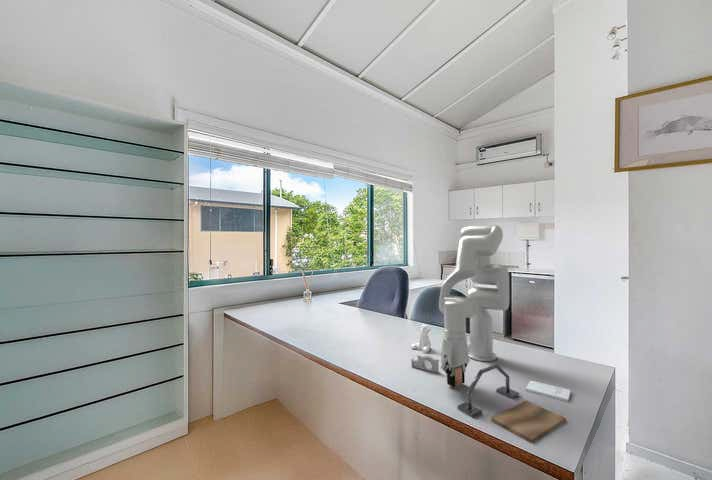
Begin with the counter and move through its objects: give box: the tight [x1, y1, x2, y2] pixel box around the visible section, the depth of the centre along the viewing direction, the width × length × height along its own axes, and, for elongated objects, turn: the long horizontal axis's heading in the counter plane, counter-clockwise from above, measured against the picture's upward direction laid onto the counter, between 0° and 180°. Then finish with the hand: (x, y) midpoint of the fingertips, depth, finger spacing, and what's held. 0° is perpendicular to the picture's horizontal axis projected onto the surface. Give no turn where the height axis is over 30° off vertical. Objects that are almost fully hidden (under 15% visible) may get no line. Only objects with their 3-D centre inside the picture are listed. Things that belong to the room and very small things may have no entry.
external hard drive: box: [525, 380, 572, 403], centre depth 110 cm, size 2×8×12 cm
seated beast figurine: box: [410, 324, 432, 354], centre depth 154 cm, size 10×9×12 cm
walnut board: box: [490, 400, 567, 444], centre depth 93 cm, size 12×18×1 cm, turn 121°
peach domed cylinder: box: [449, 366, 463, 389], centre depth 116 cm, size 4×4×7 cm
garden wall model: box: [410, 354, 440, 373], centre depth 131 cm, size 12×2×6 cm, turn 55°
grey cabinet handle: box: [457, 363, 520, 418], centre depth 104 cm, size 6×24×12 cm, turn 121°
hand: (455, 383), depth 116 cm, fingers closed on peach domed cylinder, 4 cm apart
